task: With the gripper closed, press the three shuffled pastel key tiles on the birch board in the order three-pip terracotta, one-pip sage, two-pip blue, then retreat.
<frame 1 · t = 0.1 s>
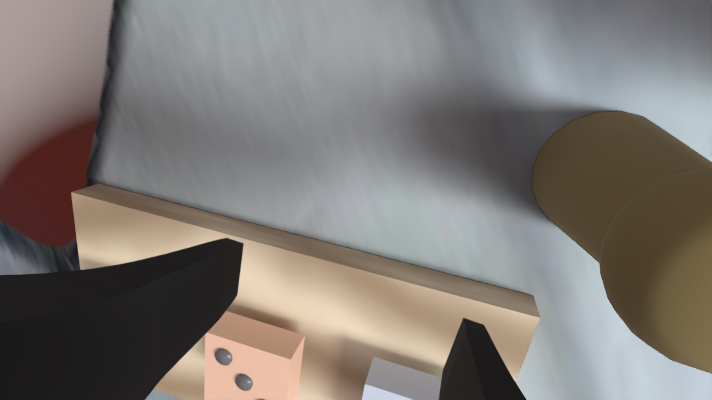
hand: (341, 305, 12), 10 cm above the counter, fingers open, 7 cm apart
tile three: (253, 369, 22), point 4 cm above the counter, slide at 0.0 cm
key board: (282, 327, 26), on the counter
cork: (600, 175, 18), on the counter
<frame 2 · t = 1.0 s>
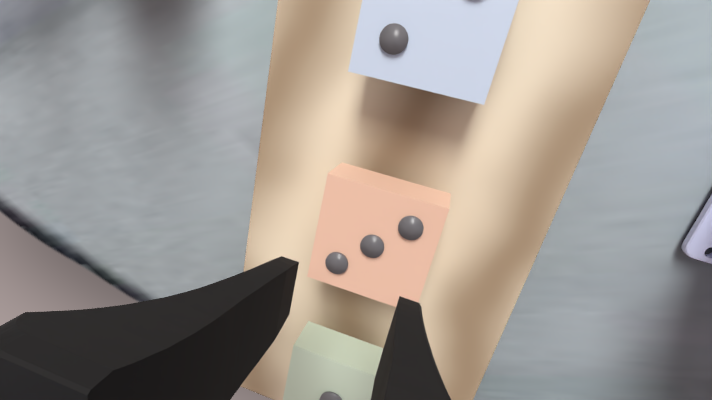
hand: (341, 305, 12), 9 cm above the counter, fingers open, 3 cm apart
tile three: (377, 236, 17), point 4 cm above the counter, slide at 0.0 cm
tile one: (337, 387, 20), point 4 cm above the counter, slide at 0.0 cm
tile two: (435, 15, 14), point 4 cm above the counter, slide at 0.0 cm
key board: (392, 207, 21), on the counter
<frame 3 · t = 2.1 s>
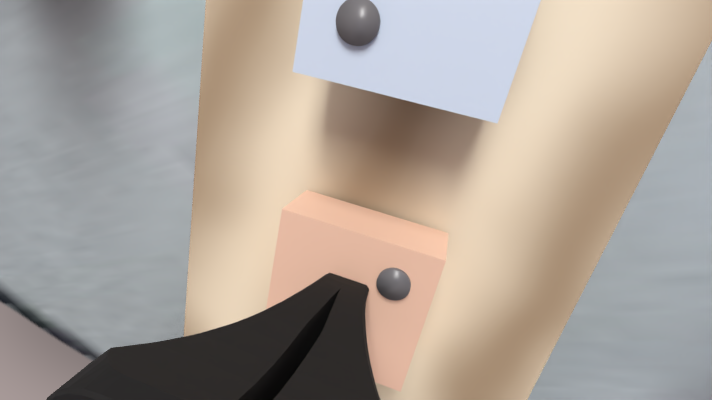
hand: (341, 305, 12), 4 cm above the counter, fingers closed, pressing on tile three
tile three: (351, 288, 13), point 3 cm above the counter, slide at 0.7 cm, touching gripper
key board: (372, 248, 16), on the counter
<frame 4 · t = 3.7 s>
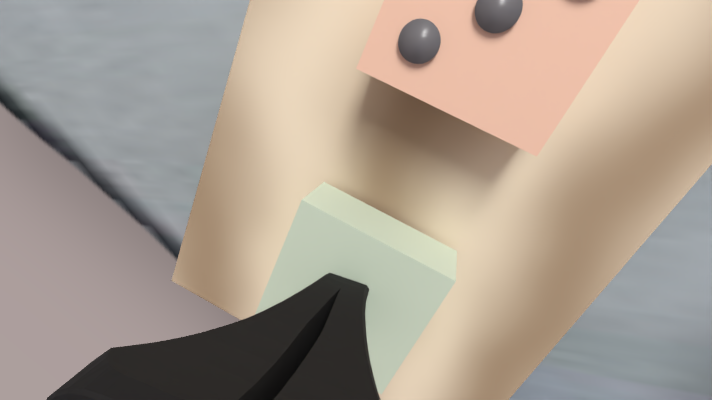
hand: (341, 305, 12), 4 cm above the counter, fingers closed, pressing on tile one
tile three: (494, 14, 10), point 3 cm above the counter, slide at 0.7 cm
tile one: (351, 287, 13), point 3 cm above the counter, slide at 0.7 cm, touching gripper
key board: (487, 27, 13), on the counter
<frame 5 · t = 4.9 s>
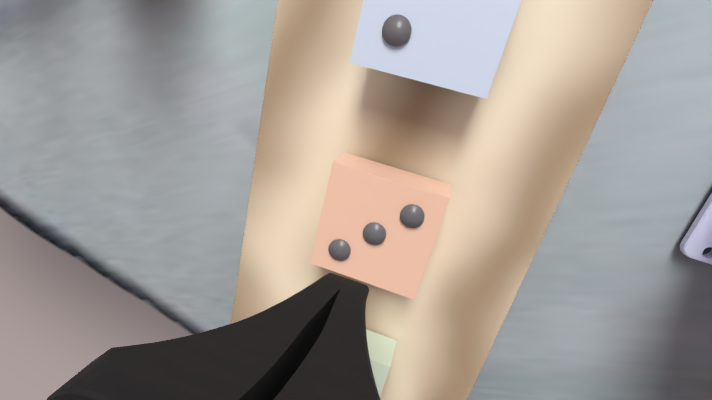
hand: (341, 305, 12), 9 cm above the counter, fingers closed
tile three: (378, 225, 18), point 3 cm above the counter, slide at 0.7 cm
tile one: (336, 372, 21), point 3 cm above the counter, slide at 0.7 cm
tile two: (439, 7, 14), point 4 cm above the counter, slide at 0.0 cm
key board: (390, 202, 21), on the counter
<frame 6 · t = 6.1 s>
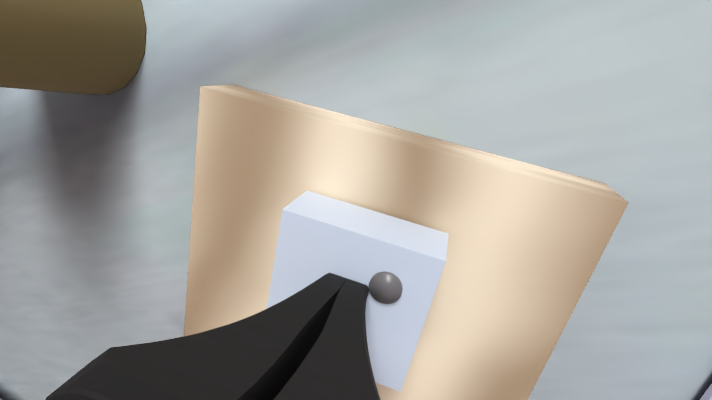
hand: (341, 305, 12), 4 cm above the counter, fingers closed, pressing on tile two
tile two: (351, 288, 13), point 3 cm above the counter, slide at 0.8 cm, touching gripper
cork: (88, 20, 16), on the counter
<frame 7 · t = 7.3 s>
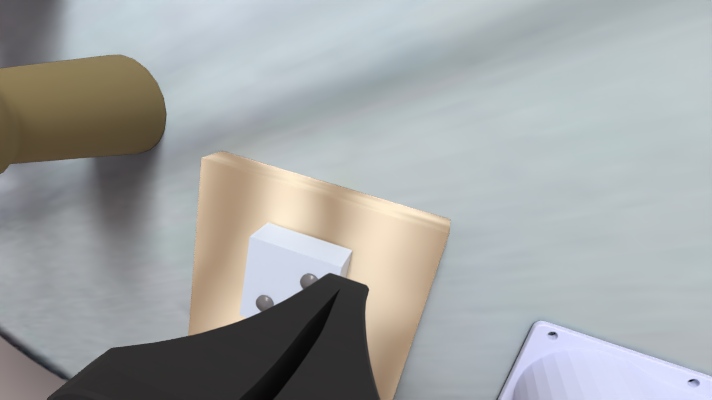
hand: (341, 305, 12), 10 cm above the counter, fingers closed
tile two: (294, 283, 21), point 3 cm above the counter, slide at 0.8 cm
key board: (292, 367, 27), on the counter
cork: (127, 105, 25), on the counter
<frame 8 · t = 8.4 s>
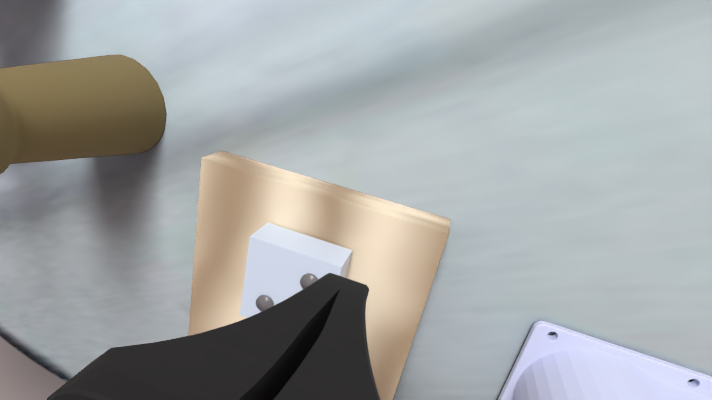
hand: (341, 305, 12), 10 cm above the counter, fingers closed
tile two: (294, 283, 21), point 3 cm above the counter, slide at 0.8 cm
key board: (292, 367, 27), on the counter
cork: (127, 105, 25), on the counter
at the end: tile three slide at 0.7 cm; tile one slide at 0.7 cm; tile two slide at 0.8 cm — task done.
